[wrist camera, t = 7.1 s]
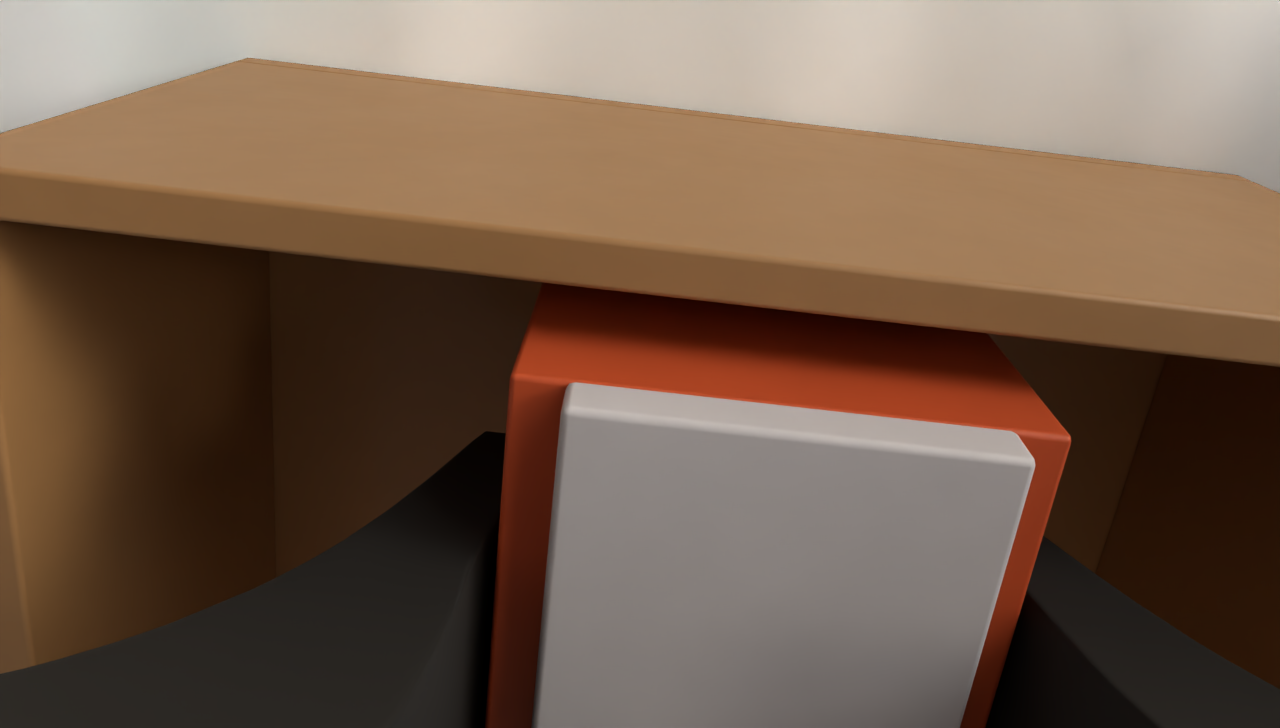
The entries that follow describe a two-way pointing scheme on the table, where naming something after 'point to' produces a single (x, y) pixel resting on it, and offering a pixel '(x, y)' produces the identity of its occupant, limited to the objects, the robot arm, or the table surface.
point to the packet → (760, 518)
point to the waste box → (584, 257)
